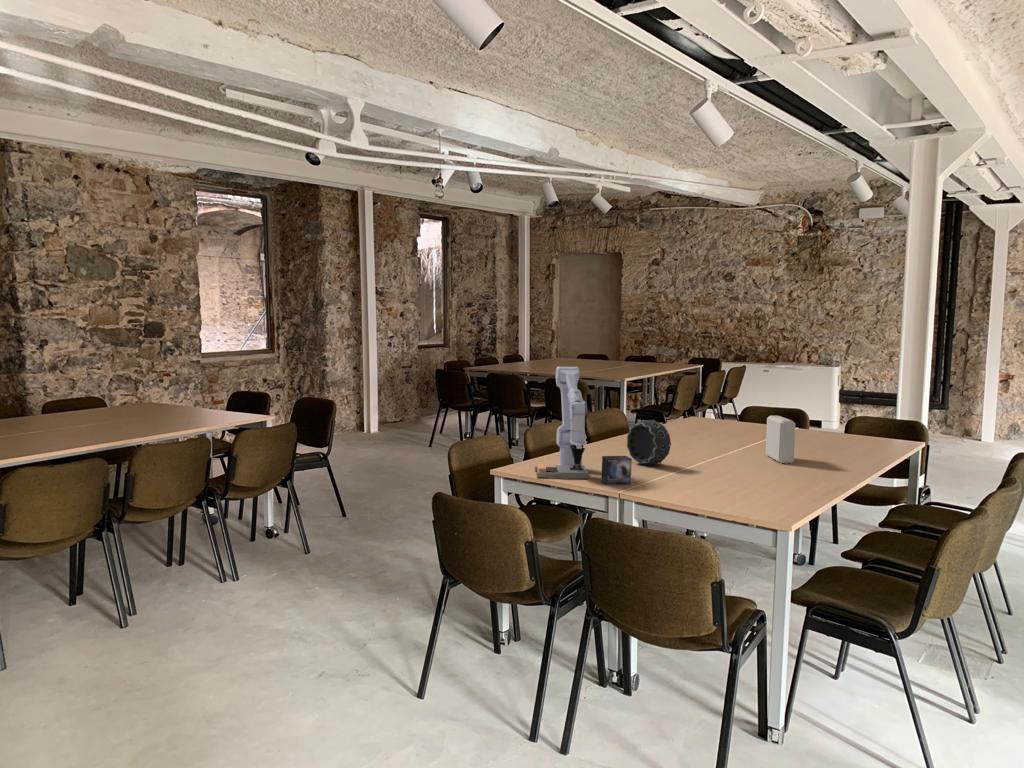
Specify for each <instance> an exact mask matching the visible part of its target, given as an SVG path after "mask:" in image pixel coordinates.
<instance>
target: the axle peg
mask: <svg viewBox="0 0 1024 768" xmlns="http://www.w3.org/2000/svg"><path fill="white" fill-rule="evenodd" d="M582 465H583V457H582V458H581V462H580V464H575V463H574V456H573V469H582Z"/></svg>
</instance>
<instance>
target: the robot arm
mask: <svg viewBox="0 0 1024 768" xmlns="http://www.w3.org/2000/svg"><path fill="white" fill-rule="evenodd" d="M580 376H581V375H580V368H579V367H578V366H557V367H556V368H555V383H556V387H557V388H559V390H560V395H561V396H560V397H561V398H560V399H561V418H562V425H560V426H558V428H557V430H556V435H555V437H556V438H555V441H556V445H557V446H558V447H559V462H558V463H557V465H573V456H574V463H575V464H580V462H581V458H582V459H583V454H584V452H585V450H586V449H585V447H584V445H585V444H588V440H587V441H586V440H585V427H586V426H585V425H586V424H585V423H586V420H585V418H586V416H587V412H588V411H587V410H588V406H587V402H586V401H585V400H584V399H583V396H582V395H583V394H582V391H581V390H580V389H578V383H579V379H580Z"/></svg>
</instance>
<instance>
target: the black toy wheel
mask: <svg viewBox="0 0 1024 768" xmlns="http://www.w3.org/2000/svg"><path fill="white" fill-rule="evenodd" d="M626 439H627V441H626V448H627V450H628V452H629V456H630V458H631V459H632V460H634V461H635V462H637V463H639V464H641V465H644V466H645V465H646V466H652V465H657V464H661V463H662V461H664V460H665V459H666V458H667V456H669V454H670V450H671V445H672V442H671V436H670V433H669V432H668V430H667V428H666V426H665V425H664V424H662V423H661V422H658V421H657V420H655V419H652V420H651V419H648V420H647V419H646V420H641V421H638V422H636V423H635V424H633V425H632V426H631V427H630V429H629V431H628V433H627V435H626Z"/></svg>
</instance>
